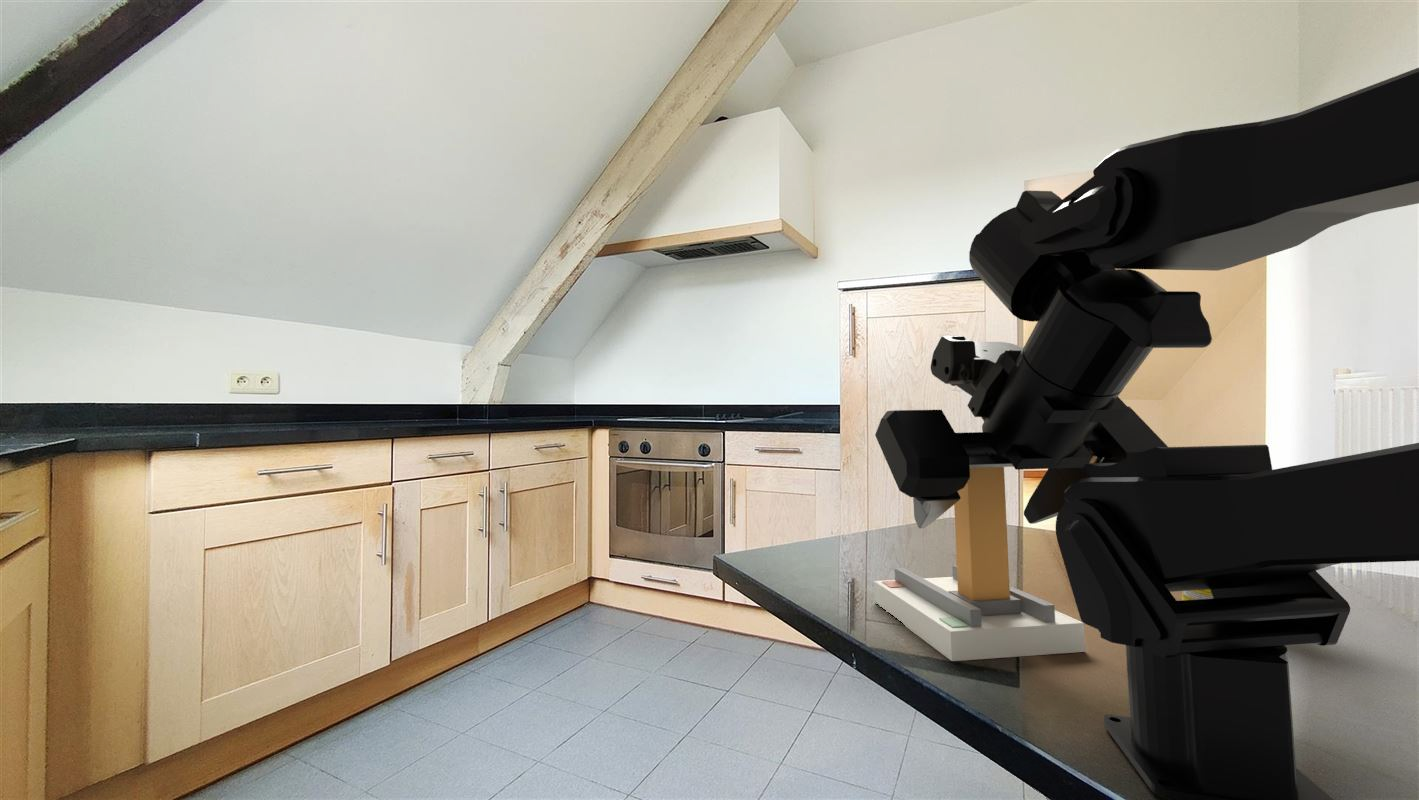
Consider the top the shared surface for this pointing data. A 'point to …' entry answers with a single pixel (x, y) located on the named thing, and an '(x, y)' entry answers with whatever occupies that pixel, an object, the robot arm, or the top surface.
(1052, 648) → the plate
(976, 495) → the handle
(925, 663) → the top surface
